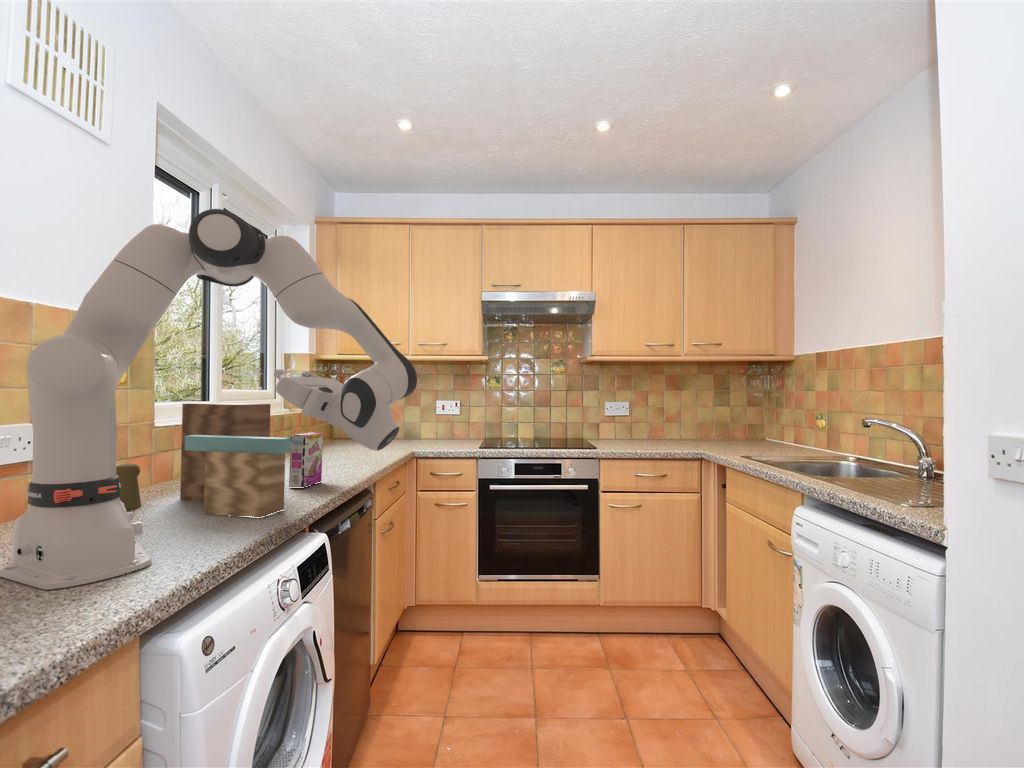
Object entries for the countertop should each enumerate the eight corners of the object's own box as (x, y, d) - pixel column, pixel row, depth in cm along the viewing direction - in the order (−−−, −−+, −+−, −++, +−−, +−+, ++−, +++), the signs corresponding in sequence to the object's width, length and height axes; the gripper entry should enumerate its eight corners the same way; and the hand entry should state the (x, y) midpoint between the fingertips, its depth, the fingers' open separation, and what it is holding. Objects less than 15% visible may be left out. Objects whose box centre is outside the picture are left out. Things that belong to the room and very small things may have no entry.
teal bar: (290, 452, 120) (291, 437, 120) (282, 453, 117) (282, 439, 117) (195, 448, 124) (196, 434, 124) (184, 450, 121) (185, 436, 121)
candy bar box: (303, 489, 149) (304, 435, 149) (288, 488, 150) (289, 434, 150) (322, 482, 160) (323, 432, 160) (308, 482, 161) (309, 431, 161)
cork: (115, 512, 119) (116, 466, 119) (107, 508, 123) (108, 464, 123) (144, 507, 124) (146, 464, 124) (136, 504, 128) (137, 461, 128)
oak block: (283, 511, 123) (285, 450, 123) (260, 519, 115) (261, 454, 115) (230, 506, 126) (231, 448, 127) (203, 514, 119) (205, 451, 119)
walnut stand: (268, 494, 141) (270, 403, 142) (235, 503, 130) (238, 404, 130) (216, 490, 145) (218, 402, 146) (180, 499, 134) (182, 403, 134)
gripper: (365, 391, 123) (323, 364, 126) (314, 391, 103) (266, 358, 106) (353, 413, 123) (312, 385, 126) (301, 416, 104) (253, 383, 106)
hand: (290, 373), depth 116 cm, fingers open, 8 cm apart
